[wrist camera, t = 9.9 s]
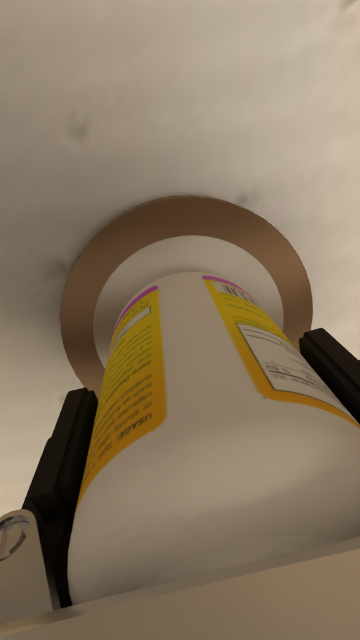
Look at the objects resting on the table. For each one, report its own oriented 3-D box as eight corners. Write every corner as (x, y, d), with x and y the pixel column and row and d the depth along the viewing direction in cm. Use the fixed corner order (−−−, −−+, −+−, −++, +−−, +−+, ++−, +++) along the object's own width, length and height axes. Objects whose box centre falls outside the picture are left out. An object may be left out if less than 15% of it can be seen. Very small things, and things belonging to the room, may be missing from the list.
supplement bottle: (127, 410, 16) (68, 1029, 5) (99, 278, 14) (-224, 963, 2) (265, 391, 16) (548, 938, 5) (264, 257, 14) (920, 755, 2)
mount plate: (27, 233, 15) (13, 240, 14) (287, 165, 15) (302, 164, 14) (111, 432, 20) (108, 454, 19) (309, 384, 20) (322, 401, 18)
